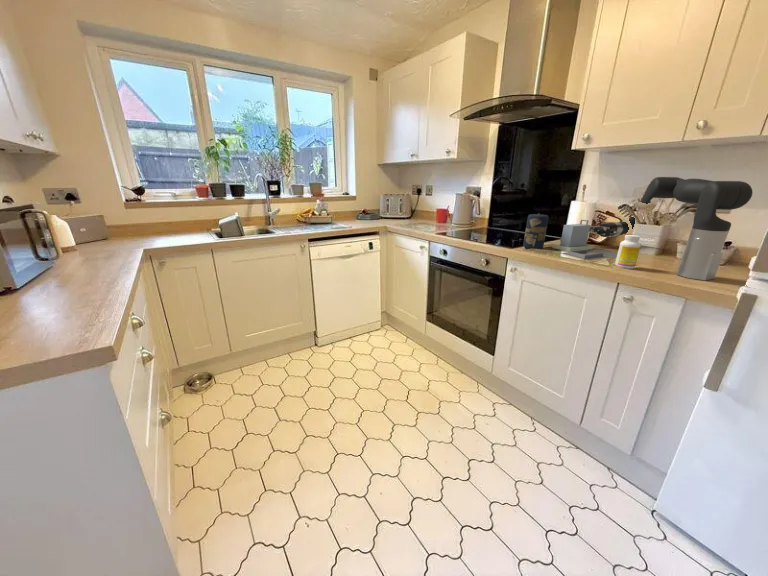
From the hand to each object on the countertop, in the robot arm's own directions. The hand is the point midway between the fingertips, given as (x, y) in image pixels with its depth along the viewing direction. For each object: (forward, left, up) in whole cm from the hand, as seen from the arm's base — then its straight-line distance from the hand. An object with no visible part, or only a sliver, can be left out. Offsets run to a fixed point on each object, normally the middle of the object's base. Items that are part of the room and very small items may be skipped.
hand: (589, 231), depth 157 cm
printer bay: (-13, +13, -9) cm, 20 cm away
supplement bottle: (-31, +20, -9) cm, 38 cm away
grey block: (0, +10, -8) cm, 13 cm away
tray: (0, +10, -9) cm, 13 cm away
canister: (+10, +26, -9) cm, 29 cm away
